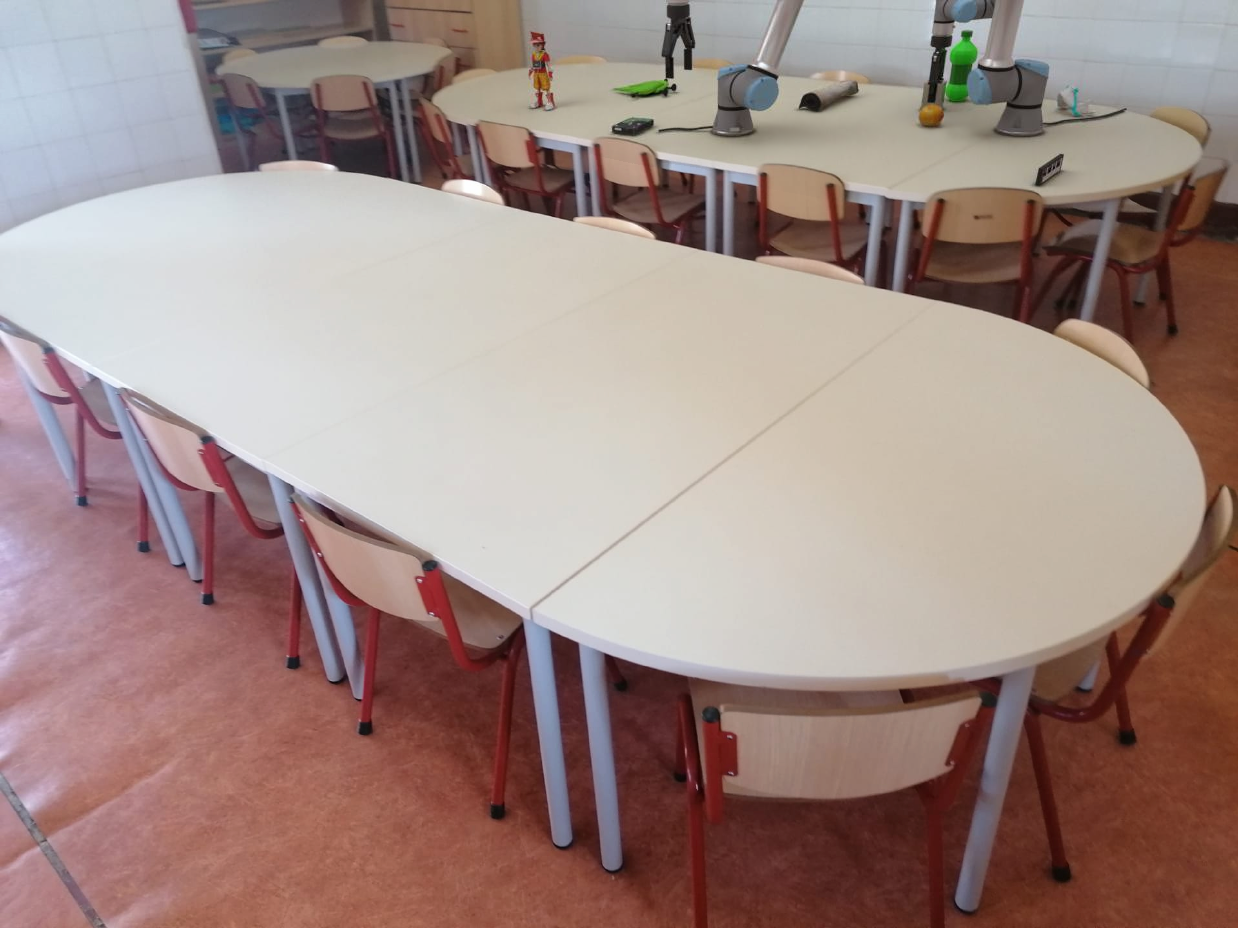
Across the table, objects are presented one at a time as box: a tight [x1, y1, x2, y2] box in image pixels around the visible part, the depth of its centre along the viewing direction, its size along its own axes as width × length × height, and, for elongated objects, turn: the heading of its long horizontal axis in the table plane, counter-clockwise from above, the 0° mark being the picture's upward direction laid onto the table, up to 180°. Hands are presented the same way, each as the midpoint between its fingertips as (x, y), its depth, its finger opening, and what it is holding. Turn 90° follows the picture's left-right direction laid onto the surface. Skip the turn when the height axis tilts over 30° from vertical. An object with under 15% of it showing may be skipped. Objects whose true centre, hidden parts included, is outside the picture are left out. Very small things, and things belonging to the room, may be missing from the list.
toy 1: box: [527, 31, 556, 111], centre depth 374 cm, size 12×9×30 cm
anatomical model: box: [1056, 84, 1096, 117], centre depth 331 cm, size 15×10×10 cm
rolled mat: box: [798, 79, 860, 112], centre depth 363 cm, size 30×9×10 cm
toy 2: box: [612, 78, 677, 99], centre depth 396 cm, size 28×5×30 cm
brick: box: [920, 79, 948, 110], centre depth 345 cm, size 7×5×10 cm
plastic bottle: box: [945, 29, 979, 102], centre depth 350 cm, size 10×10×25 cm
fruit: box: [918, 104, 945, 127], centre depth 327 cm, size 8×8×8 cm
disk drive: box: [611, 116, 655, 136], centre depth 345 cm, size 10×3×15 cm
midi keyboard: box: [1035, 153, 1065, 186], centre depth 273 cm, size 18×1×5 cm, turn 138°
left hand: (679, 74), depth 301 cm, fingers open, 13 cm apart
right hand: (933, 100), depth 346 cm, fingers closed on brick, 5 cm apart
